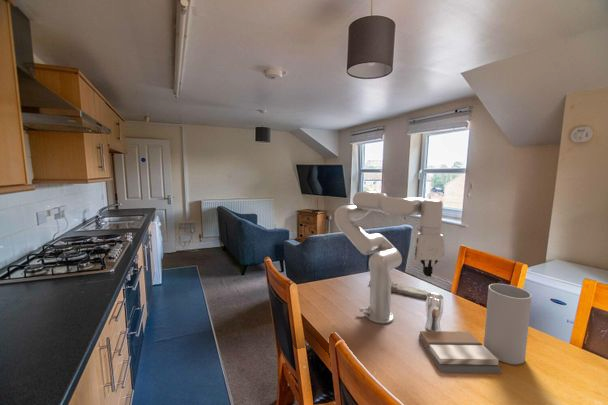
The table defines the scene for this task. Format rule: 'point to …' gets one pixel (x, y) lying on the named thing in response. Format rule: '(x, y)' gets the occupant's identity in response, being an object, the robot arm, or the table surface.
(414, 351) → the table surface
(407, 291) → the long grey stone
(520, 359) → the cylinder vase
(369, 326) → the table surface
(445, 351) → the loose plank
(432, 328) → the beer glass
